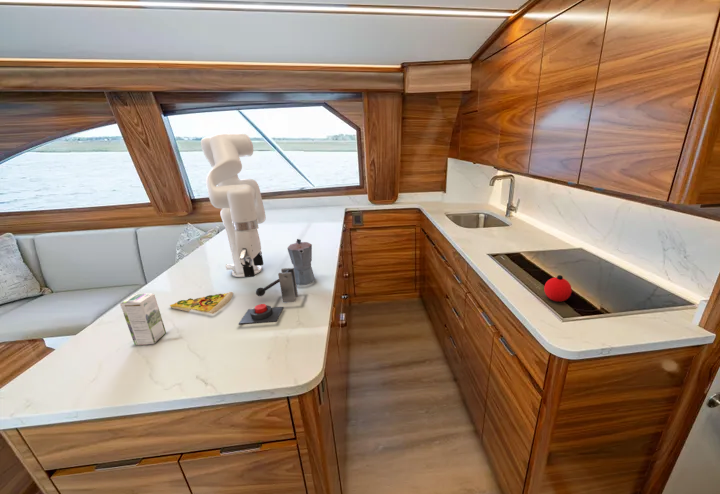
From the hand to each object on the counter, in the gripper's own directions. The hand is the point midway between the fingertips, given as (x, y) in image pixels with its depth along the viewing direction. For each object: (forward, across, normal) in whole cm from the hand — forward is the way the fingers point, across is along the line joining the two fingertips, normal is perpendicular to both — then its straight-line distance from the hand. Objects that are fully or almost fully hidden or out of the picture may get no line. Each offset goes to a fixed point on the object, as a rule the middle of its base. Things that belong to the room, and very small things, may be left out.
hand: (254, 270), depth 107 cm
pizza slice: (+14, 0, -22) cm, 26 cm away
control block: (+13, +12, +4) cm, 18 cm away
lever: (+7, +1, +7) cm, 10 cm away
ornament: (+12, +14, +110) cm, 112 cm away
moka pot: (+14, -15, +13) cm, 24 cm away
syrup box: (+14, +19, -27) cm, 35 cm away
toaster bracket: (+13, +1, +11) cm, 17 cm away
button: (+10, +12, +4) cm, 16 cm away
